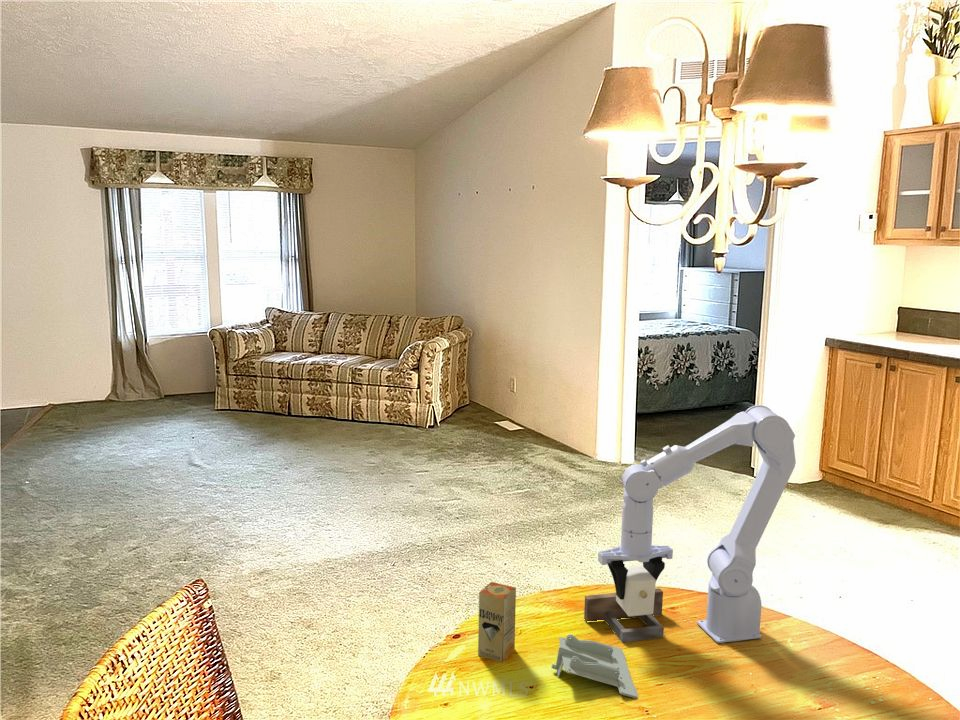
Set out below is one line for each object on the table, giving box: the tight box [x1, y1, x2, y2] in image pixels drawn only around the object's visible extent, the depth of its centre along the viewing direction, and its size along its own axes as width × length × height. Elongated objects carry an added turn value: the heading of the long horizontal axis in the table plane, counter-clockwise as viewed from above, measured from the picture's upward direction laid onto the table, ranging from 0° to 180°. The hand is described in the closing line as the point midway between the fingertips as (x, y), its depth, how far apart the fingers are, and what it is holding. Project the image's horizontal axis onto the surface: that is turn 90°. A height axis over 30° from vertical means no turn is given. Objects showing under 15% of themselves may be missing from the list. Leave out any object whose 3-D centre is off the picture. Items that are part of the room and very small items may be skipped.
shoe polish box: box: [477, 581, 517, 663], centre depth 139 cm, size 5×5×12 cm
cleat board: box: [583, 587, 665, 643], centre depth 149 cm, size 16×10×5 cm, turn 103°
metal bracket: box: [550, 633, 639, 699], centre depth 134 cm, size 14×6×15 cm
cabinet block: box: [616, 564, 657, 616], centre depth 147 cm, size 5×7×7 cm
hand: (633, 595), depth 148 cm, fingers closed on cabinet block, 5 cm apart
